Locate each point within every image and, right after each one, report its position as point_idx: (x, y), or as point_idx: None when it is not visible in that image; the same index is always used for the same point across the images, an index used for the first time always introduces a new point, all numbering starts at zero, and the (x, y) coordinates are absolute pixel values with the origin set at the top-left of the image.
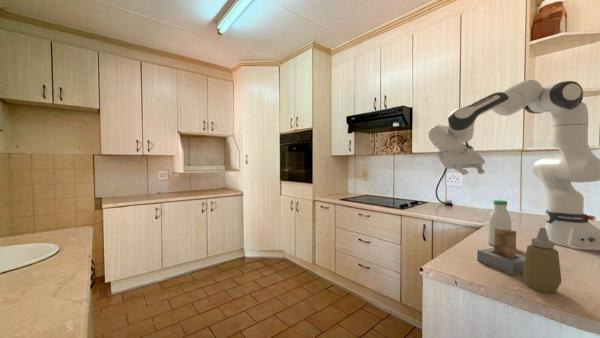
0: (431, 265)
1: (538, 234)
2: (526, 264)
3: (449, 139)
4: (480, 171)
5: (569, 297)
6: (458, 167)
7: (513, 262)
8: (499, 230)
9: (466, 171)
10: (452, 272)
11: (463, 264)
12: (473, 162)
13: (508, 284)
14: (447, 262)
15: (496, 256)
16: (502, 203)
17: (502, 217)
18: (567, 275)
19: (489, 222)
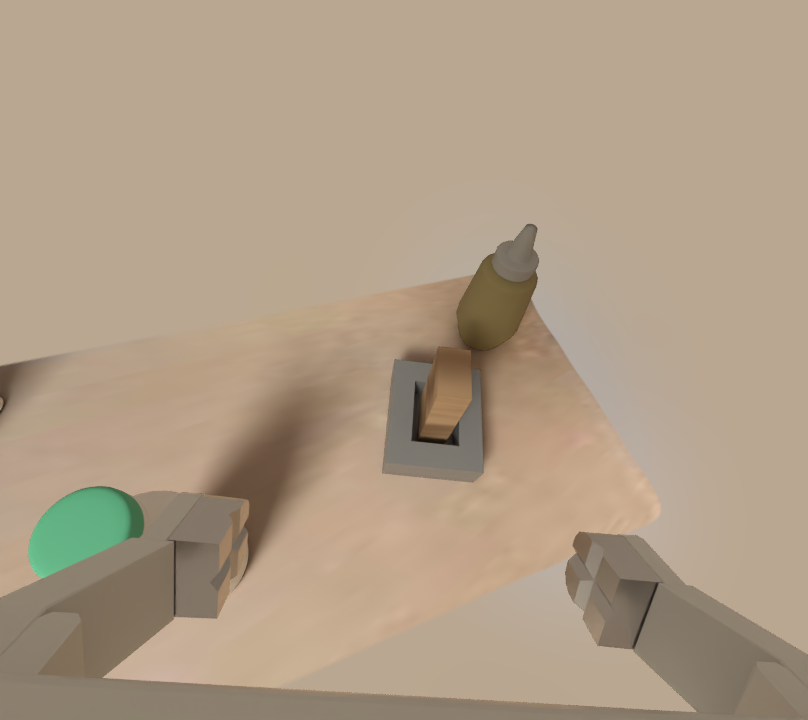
0: (648, 514)
1: (532, 248)
2: (521, 317)
3: None
4: (234, 536)
5: None
6: (791, 668)
7: (475, 371)
8: (470, 385)
9: (610, 541)
10: (615, 455)
11: (542, 480)
12: (252, 688)
13: (529, 366)
14: (581, 511)
15: (477, 413)
16: (133, 500)
17: None
18: (343, 335)
19: None
